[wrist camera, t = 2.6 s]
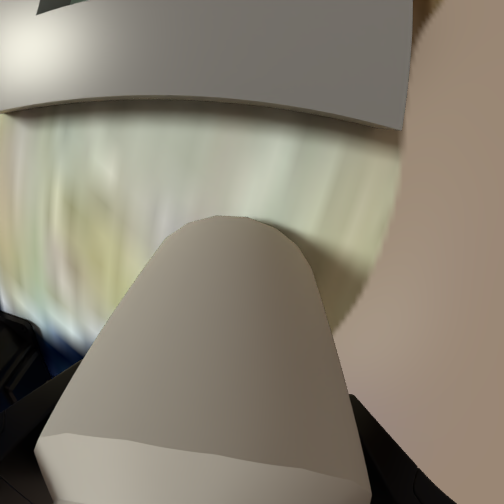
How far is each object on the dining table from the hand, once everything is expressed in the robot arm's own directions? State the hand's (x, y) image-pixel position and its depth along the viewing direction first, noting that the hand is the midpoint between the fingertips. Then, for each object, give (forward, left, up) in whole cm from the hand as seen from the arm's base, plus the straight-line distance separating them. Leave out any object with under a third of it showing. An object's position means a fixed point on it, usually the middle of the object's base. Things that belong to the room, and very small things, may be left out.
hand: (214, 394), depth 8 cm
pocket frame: (-4, +17, -6) cm, 19 cm away
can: (0, 0, -6) cm, 6 cm away
